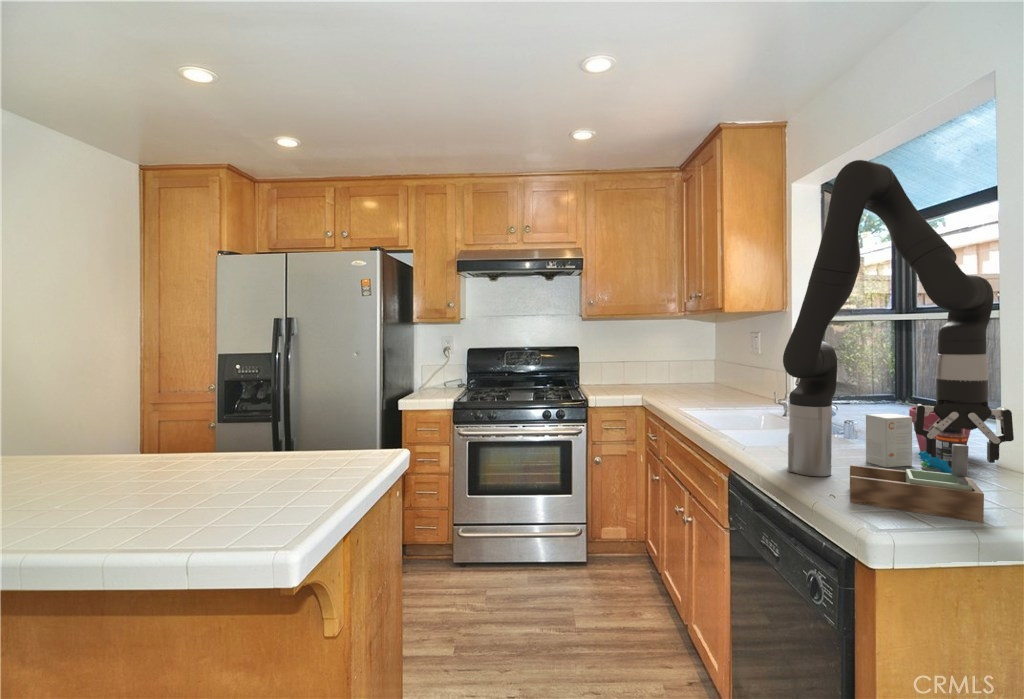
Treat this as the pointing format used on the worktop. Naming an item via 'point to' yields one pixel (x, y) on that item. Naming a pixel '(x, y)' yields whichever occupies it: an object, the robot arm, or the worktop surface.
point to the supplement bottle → (948, 443)
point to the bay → (913, 494)
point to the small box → (889, 440)
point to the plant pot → (928, 424)
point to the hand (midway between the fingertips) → (961, 459)
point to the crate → (945, 479)
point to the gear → (934, 463)
